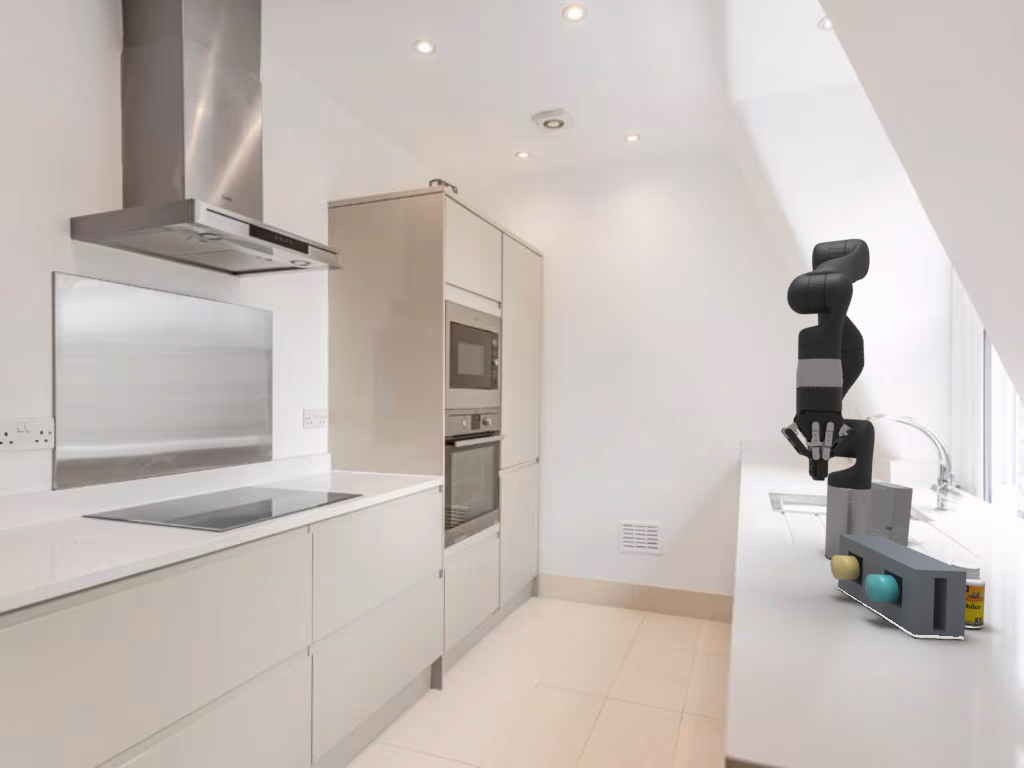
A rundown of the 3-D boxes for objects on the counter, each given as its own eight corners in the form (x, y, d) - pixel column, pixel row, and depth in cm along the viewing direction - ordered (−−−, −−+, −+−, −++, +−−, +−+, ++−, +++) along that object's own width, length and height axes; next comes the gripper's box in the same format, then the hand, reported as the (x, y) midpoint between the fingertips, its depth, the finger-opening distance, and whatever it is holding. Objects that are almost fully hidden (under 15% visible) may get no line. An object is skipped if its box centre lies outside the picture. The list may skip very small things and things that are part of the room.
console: (913, 638, 99) (916, 569, 99) (837, 589, 123) (839, 534, 123) (964, 640, 99) (966, 571, 99) (878, 591, 123) (880, 535, 123)
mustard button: (841, 582, 115) (842, 558, 115) (830, 575, 120) (831, 552, 120) (859, 583, 115) (860, 559, 115) (847, 576, 120) (847, 553, 120)
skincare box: (863, 539, 168) (865, 481, 168) (883, 538, 170) (885, 481, 170) (890, 547, 160) (892, 486, 160) (911, 546, 162) (913, 486, 162)
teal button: (878, 605, 103) (879, 578, 103) (864, 596, 108) (865, 571, 108) (898, 606, 103) (899, 579, 103) (883, 597, 108) (883, 571, 108)
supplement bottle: (945, 625, 105) (947, 565, 105) (941, 615, 110) (943, 558, 110) (986, 633, 103) (988, 571, 103) (980, 622, 107) (982, 563, 108)
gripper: (847, 385, 115) (847, 478, 115) (774, 384, 117) (773, 476, 117) (867, 385, 108) (866, 484, 108) (788, 384, 109) (787, 482, 109)
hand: (818, 480), depth 112 cm, fingers closed
